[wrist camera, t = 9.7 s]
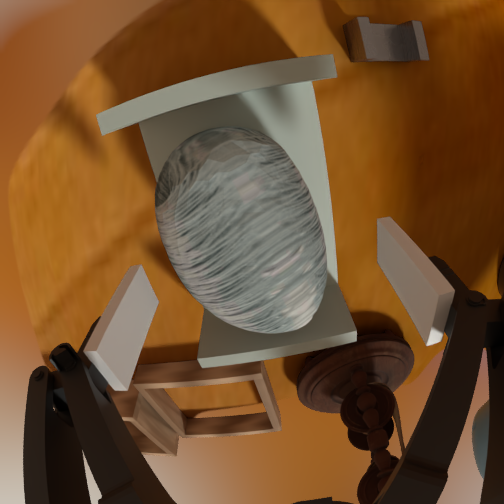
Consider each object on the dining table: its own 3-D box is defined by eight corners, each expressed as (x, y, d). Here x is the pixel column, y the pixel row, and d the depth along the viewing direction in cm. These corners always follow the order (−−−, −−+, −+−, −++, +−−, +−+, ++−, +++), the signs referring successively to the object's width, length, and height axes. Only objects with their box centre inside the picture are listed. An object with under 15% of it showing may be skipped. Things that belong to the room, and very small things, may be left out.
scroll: (406, 375, 36) (449, 494, 18) (310, 407, 38) (328, 533, 21) (406, 305, 29) (485, 468, 11) (279, 350, 31) (298, 533, 14)
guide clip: (401, 27, 15) (421, 21, 12) (408, 61, 17) (429, 60, 14) (342, 25, 16) (357, 16, 13) (351, 62, 17) (366, 58, 14)
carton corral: (142, 379, 34) (132, 417, 29) (180, 424, 40) (176, 456, 35) (72, 379, 35) (59, 410, 30) (115, 422, 41) (108, 450, 36)
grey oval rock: (108, 161, 16) (143, 231, 9) (236, 93, 18) (351, 114, 11) (193, 295, 25) (255, 382, 18) (280, 236, 27) (361, 299, 20)
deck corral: (260, 351, 31) (261, 373, 28) (280, 413, 38) (281, 430, 36) (138, 364, 32) (132, 384, 30) (183, 421, 40) (181, 437, 37)
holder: (304, 66, 17) (332, 54, 11) (335, 286, 27) (356, 341, 21) (139, 106, 18) (95, 114, 12) (209, 310, 28) (202, 368, 22)
